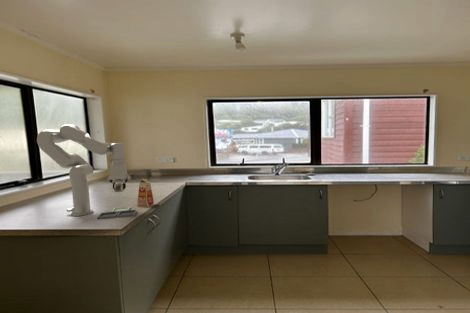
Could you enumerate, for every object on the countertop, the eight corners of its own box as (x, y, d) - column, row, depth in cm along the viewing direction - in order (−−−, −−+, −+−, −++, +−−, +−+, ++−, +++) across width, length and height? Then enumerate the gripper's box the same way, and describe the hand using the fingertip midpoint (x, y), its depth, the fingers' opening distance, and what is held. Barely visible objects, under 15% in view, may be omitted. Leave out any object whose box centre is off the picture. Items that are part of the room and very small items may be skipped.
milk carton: (148, 207, 187) (146, 178, 186) (136, 207, 189) (134, 178, 187) (154, 204, 196) (153, 176, 194) (143, 203, 198) (141, 176, 196)
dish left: (97, 219, 162) (97, 217, 162) (101, 215, 172) (101, 212, 172) (115, 218, 164) (115, 215, 164) (118, 213, 174) (118, 211, 174)
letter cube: (114, 192, 175) (114, 184, 175) (116, 190, 180) (116, 182, 180) (122, 191, 176) (122, 183, 175) (124, 190, 181) (124, 182, 180)
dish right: (117, 218, 164) (116, 215, 164) (120, 213, 174) (120, 211, 174) (134, 216, 166) (134, 213, 166) (136, 212, 176) (136, 209, 176)
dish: (111, 213, 174) (111, 211, 174) (114, 209, 184) (114, 207, 183) (128, 212, 176) (127, 210, 176) (130, 208, 186) (130, 206, 185)
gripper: (102, 162, 171) (103, 191, 173) (130, 162, 174) (132, 189, 176) (105, 161, 179) (107, 188, 180) (133, 160, 182) (134, 187, 183)
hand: (119, 189), depth 178 cm, fingers closed on letter cube, 5 cm apart
